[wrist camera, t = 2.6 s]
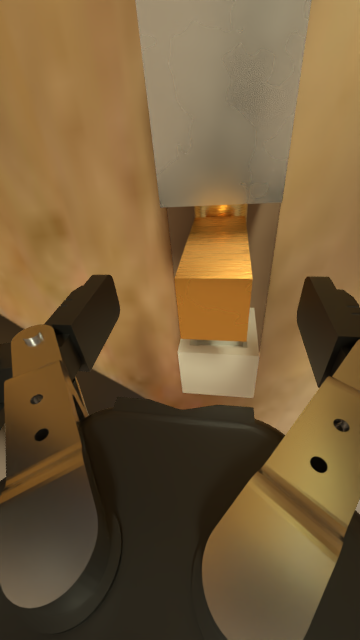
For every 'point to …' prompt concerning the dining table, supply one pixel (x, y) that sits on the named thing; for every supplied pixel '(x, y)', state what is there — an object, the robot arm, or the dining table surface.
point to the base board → (260, 247)
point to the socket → (220, 365)
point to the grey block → (221, 96)
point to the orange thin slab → (215, 276)
